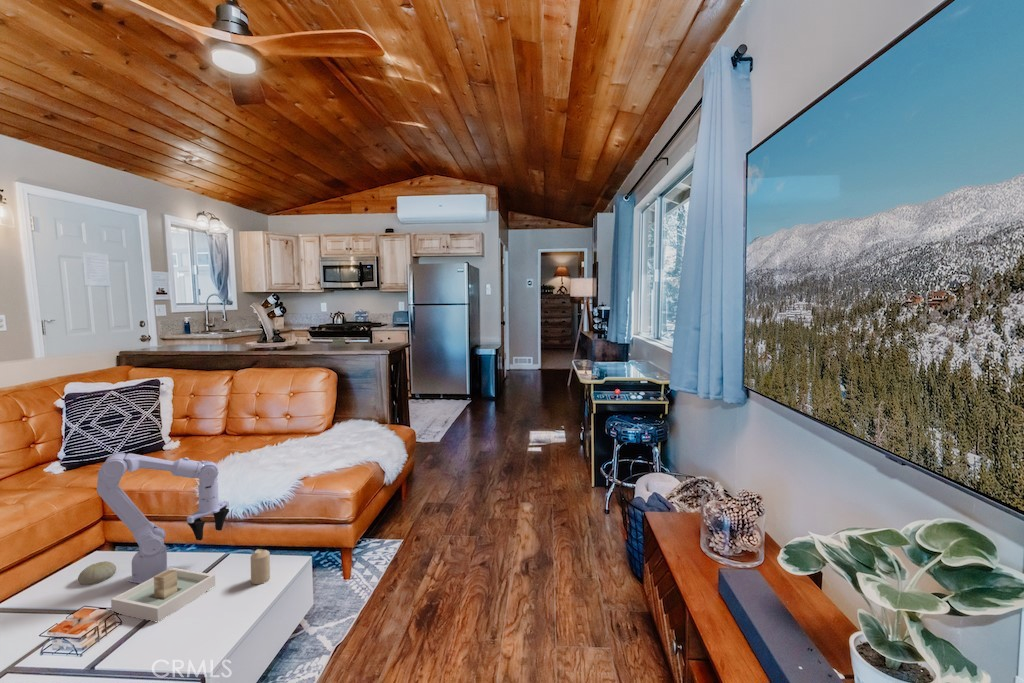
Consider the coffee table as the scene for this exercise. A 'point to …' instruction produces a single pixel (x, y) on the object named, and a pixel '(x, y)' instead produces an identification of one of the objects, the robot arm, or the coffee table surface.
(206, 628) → the coffee table surface
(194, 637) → the coffee table surface
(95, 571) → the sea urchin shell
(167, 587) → the peg
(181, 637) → the coffee table surface
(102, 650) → the coffee table surface
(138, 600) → the tray
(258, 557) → the candle
